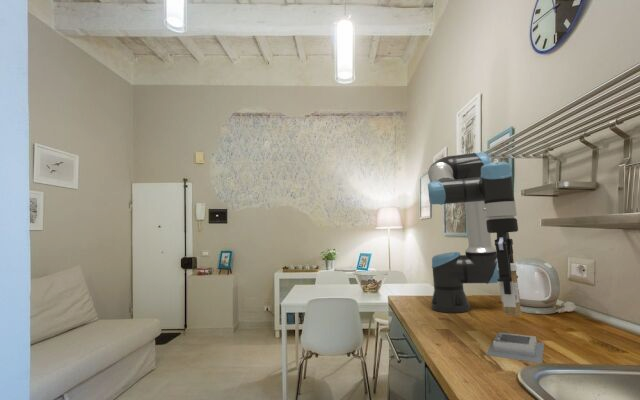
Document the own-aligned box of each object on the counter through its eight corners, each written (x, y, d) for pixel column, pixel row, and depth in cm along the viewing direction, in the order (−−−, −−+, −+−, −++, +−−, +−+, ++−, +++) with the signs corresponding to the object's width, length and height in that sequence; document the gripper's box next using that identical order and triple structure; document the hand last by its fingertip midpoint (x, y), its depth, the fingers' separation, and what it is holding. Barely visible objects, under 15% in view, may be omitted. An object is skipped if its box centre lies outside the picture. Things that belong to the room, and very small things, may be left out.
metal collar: (499, 341, 93) (498, 332, 93) (537, 346, 87) (535, 336, 88) (494, 351, 85) (493, 341, 86) (535, 357, 80) (533, 346, 80)
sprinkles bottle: (522, 312, 88) (516, 262, 89) (521, 316, 84) (515, 264, 86) (502, 311, 90) (497, 262, 92) (501, 315, 87) (495, 264, 88)
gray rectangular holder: (495, 340, 96) (495, 337, 96) (544, 346, 89) (544, 343, 89) (486, 358, 83) (485, 354, 83) (542, 367, 76) (541, 363, 76)
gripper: (491, 219, 99) (500, 297, 97) (480, 218, 85) (489, 310, 83) (519, 217, 95) (529, 299, 92) (512, 216, 81) (524, 313, 78)
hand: (510, 304), depth 88 cm, fingers closed on sprinkles bottle, 4 cm apart
